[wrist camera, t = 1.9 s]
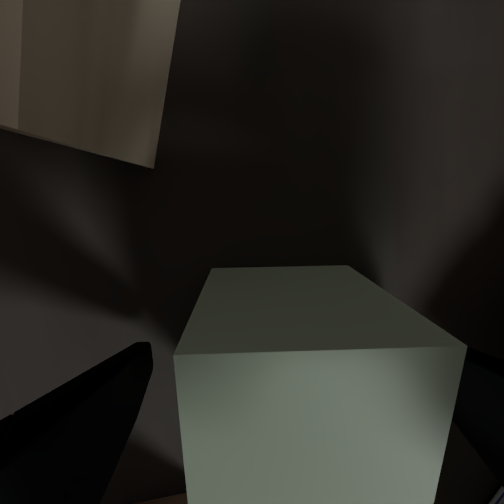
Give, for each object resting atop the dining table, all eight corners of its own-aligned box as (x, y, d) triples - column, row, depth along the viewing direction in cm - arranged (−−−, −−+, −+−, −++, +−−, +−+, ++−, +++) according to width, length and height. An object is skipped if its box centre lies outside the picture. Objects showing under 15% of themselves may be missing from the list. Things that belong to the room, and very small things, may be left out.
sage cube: (217, 383, 10) (193, 561, 5) (212, 267, 9) (173, 355, 4) (337, 379, 10) (423, 548, 5) (347, 264, 9) (468, 346, 4)
